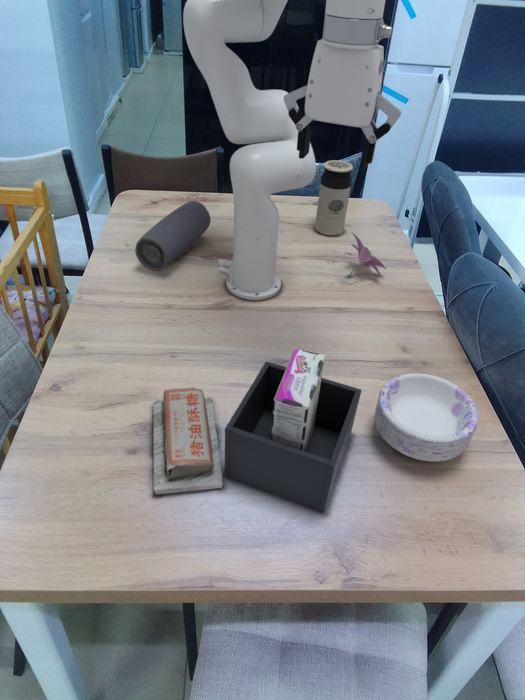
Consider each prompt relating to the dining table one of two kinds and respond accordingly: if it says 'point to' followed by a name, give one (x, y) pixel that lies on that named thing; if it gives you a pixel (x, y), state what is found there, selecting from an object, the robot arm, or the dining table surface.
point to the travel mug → (333, 197)
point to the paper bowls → (425, 417)
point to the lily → (366, 256)
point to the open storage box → (282, 460)
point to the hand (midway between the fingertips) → (333, 161)
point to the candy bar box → (298, 400)
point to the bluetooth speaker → (172, 236)
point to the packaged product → (185, 443)
